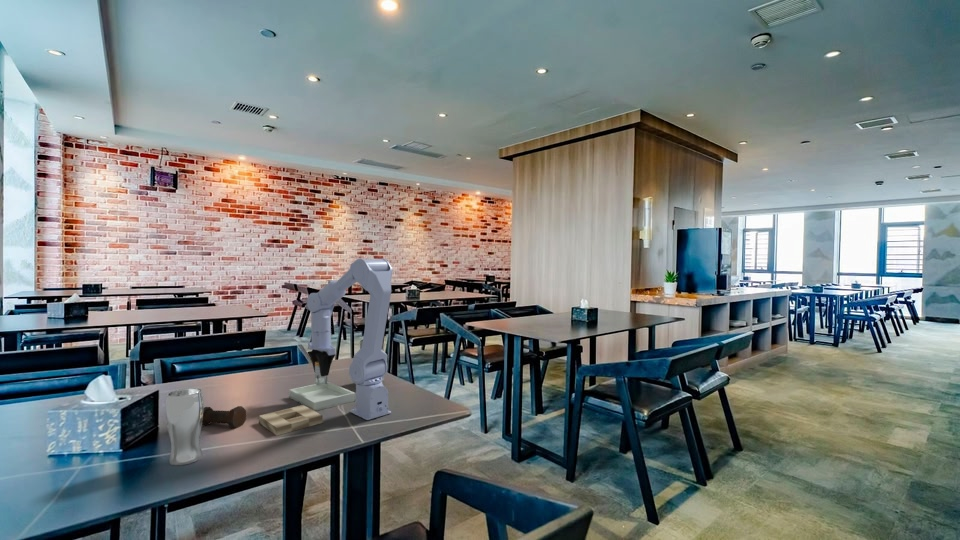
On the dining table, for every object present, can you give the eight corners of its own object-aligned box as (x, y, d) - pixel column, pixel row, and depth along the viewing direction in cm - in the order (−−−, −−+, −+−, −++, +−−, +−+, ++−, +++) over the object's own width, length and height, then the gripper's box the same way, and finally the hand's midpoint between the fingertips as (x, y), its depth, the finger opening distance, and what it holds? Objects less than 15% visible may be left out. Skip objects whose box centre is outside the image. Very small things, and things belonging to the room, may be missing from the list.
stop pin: (329, 383, 138) (329, 361, 138) (318, 386, 136) (318, 363, 135) (323, 381, 141) (323, 359, 140) (313, 383, 138) (312, 361, 138)
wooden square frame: (322, 422, 119) (322, 415, 119) (276, 435, 110) (276, 427, 110) (303, 411, 127) (303, 404, 127) (259, 422, 118) (259, 415, 118)
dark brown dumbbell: (193, 428, 120) (242, 430, 117) (179, 425, 115) (229, 427, 112) (201, 406, 122) (249, 408, 120) (187, 402, 118) (237, 404, 115)
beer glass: (163, 459, 97) (162, 391, 97) (200, 449, 102) (199, 385, 102) (170, 470, 92) (168, 399, 92) (208, 459, 97) (207, 391, 97)
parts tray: (355, 400, 137) (355, 392, 137) (314, 411, 127) (314, 402, 127) (328, 388, 149) (327, 381, 149) (289, 397, 140) (289, 389, 140)
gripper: (298, 330, 140) (299, 372, 140) (319, 335, 130) (319, 381, 130) (319, 327, 145) (320, 368, 145) (341, 332, 135) (342, 376, 135)
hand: (321, 374), depth 138 cm, fingers closed on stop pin, 4 cm apart
